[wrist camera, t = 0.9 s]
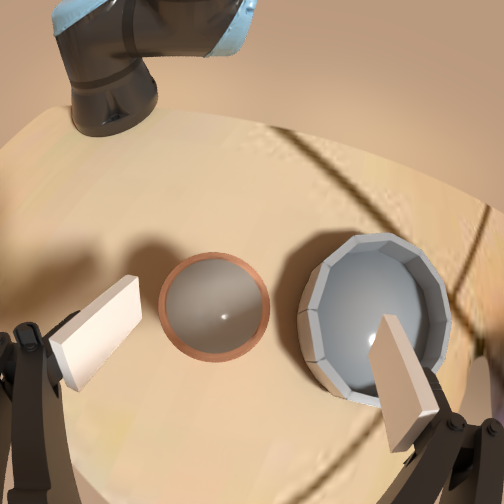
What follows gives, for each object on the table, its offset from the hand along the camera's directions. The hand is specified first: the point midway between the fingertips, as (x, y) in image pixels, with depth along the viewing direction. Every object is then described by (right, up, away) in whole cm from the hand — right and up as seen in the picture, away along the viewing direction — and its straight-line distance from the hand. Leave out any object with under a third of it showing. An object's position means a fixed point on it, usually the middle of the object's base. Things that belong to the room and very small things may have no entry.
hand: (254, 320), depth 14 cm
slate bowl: (+15, -5, +18) cm, 24 cm away
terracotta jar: (-4, -4, +16) cm, 17 cm away
